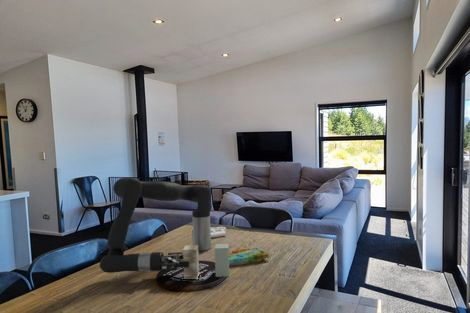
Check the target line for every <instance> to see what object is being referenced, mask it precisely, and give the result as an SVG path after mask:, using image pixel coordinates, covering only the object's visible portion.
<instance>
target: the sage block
mask: <svg viewBox="0 0 470 313" xmlns="http://www.w3.org/2000/svg"><path fill="white" fill-rule="evenodd" d="M229 251H230V250H229V243H218V244H217V243H216V244H214V265H215V268H214V269H215V278H216V277H217V278H222V276H223V277H225V278H226V277H230V266H229Z"/></svg>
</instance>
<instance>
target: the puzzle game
mask: <svg viewBox="0 0 470 313" xmlns="http://www.w3.org/2000/svg"><path fill="white" fill-rule="evenodd" d="M267 258H269V254H268V253H267V252H266V251H264V250H263V249H261V247H258V246H257V247H250V248H243V249H233V250H229V267H232V266H233V267H234V266H238V265H239V266H242V265H247V264H253V263H261V262H262V260H263V259H267Z"/></svg>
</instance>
